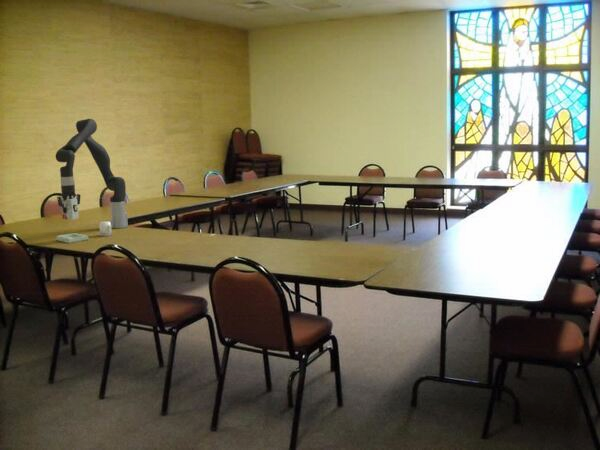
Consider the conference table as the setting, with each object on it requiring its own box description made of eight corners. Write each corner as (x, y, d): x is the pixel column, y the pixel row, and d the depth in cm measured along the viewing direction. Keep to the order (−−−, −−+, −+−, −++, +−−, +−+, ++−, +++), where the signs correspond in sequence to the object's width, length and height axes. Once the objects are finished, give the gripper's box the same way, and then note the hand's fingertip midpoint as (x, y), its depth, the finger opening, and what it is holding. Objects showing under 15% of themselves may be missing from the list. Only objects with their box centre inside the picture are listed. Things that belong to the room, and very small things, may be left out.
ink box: (62, 218, 384) (60, 199, 382) (68, 217, 388) (66, 198, 386) (72, 219, 380) (70, 199, 378) (79, 218, 384) (77, 198, 382)
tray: (75, 237, 396) (74, 233, 395) (88, 240, 385) (87, 235, 385) (56, 240, 387) (56, 235, 387) (69, 243, 377) (69, 238, 376)
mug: (108, 233, 405) (107, 221, 403) (116, 235, 398) (115, 222, 397) (97, 235, 400) (96, 222, 398) (105, 237, 393) (104, 224, 392)
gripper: (75, 182, 388) (78, 210, 391) (52, 185, 378) (55, 213, 381) (82, 183, 383) (84, 211, 386) (59, 185, 373) (61, 214, 376)
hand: (70, 212), depth 384 cm, fingers closed on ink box, 5 cm apart
